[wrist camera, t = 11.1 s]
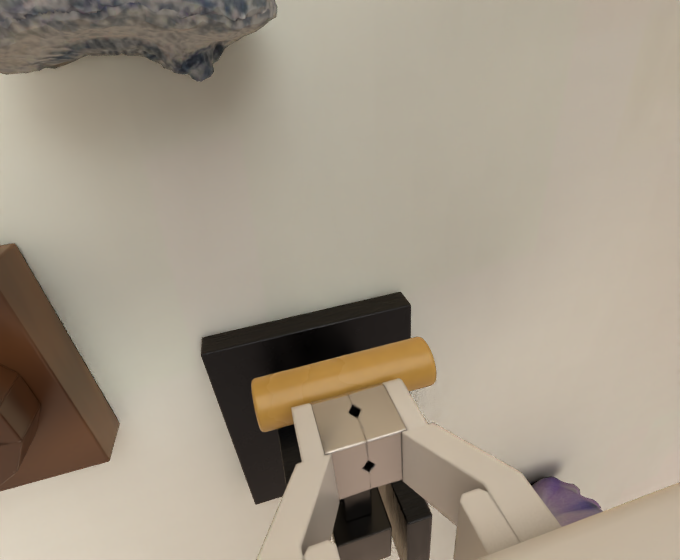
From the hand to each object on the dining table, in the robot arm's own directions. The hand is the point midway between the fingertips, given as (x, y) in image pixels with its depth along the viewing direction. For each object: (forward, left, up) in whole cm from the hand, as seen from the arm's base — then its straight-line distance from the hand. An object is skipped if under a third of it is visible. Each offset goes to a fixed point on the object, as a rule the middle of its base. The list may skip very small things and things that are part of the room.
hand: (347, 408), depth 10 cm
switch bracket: (+9, 0, -9) cm, 12 cm away
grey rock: (-11, -4, -9) cm, 14 cm away
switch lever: (+4, 0, -2) cm, 5 cm away
